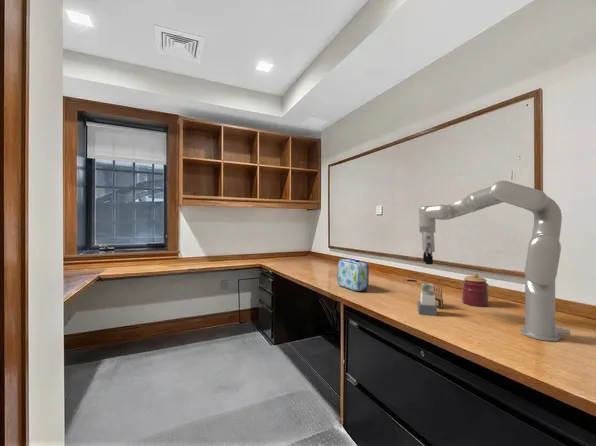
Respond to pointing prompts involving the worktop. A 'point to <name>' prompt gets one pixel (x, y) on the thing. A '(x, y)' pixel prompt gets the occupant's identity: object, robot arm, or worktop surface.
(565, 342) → the worktop surface
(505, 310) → the worktop surface
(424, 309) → the tower base
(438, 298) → the ammunition clip
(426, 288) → the sage block
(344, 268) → the lunch box
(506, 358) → the worktop surface
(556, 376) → the worktop surface
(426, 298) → the tower top
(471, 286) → the canister
